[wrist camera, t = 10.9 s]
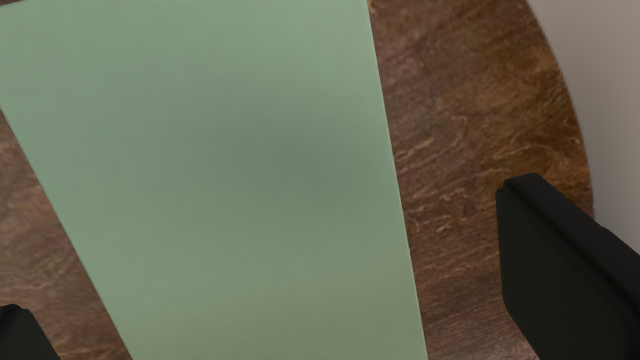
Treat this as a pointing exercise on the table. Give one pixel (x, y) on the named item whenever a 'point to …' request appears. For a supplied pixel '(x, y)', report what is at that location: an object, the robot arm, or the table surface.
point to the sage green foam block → (219, 172)
